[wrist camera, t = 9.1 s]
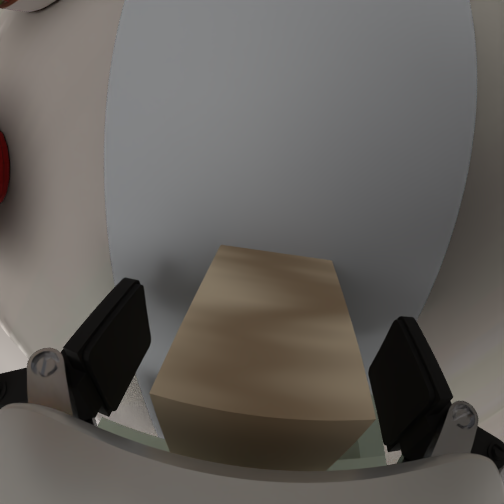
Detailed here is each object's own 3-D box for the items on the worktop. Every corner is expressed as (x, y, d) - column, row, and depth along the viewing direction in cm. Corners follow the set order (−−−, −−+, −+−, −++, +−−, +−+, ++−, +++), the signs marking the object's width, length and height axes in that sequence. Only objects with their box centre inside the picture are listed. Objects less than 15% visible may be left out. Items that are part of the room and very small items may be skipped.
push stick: (331, 260, 10) (375, 418, 4) (262, 458, 19) (255, 523, 13) (220, 244, 11) (149, 393, 4) (214, 451, 19) (200, 515, 13)
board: (456, -13, 5) (465, -18, 4) (317, 453, 20) (318, 461, 19) (156, -57, 5) (149, -65, 4) (162, 431, 21) (159, 439, 20)
